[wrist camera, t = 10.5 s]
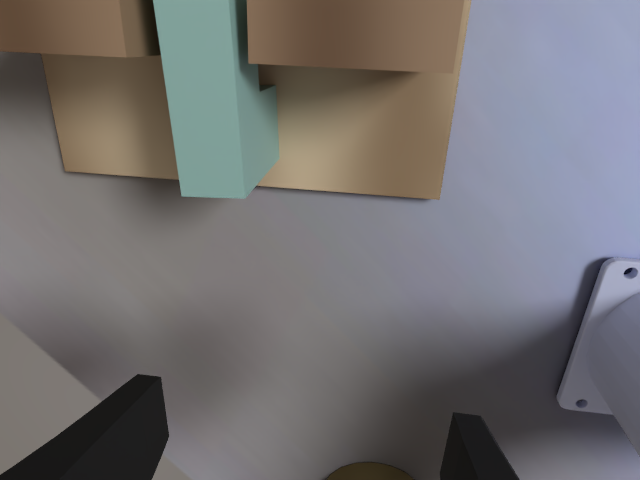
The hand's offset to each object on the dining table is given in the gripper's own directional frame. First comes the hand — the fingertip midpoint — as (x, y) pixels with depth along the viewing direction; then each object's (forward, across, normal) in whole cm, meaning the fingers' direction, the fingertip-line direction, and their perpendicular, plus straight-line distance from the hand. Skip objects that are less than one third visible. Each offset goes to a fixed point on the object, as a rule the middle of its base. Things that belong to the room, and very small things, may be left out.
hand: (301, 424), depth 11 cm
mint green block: (+9, +4, -9) cm, 13 cm away
